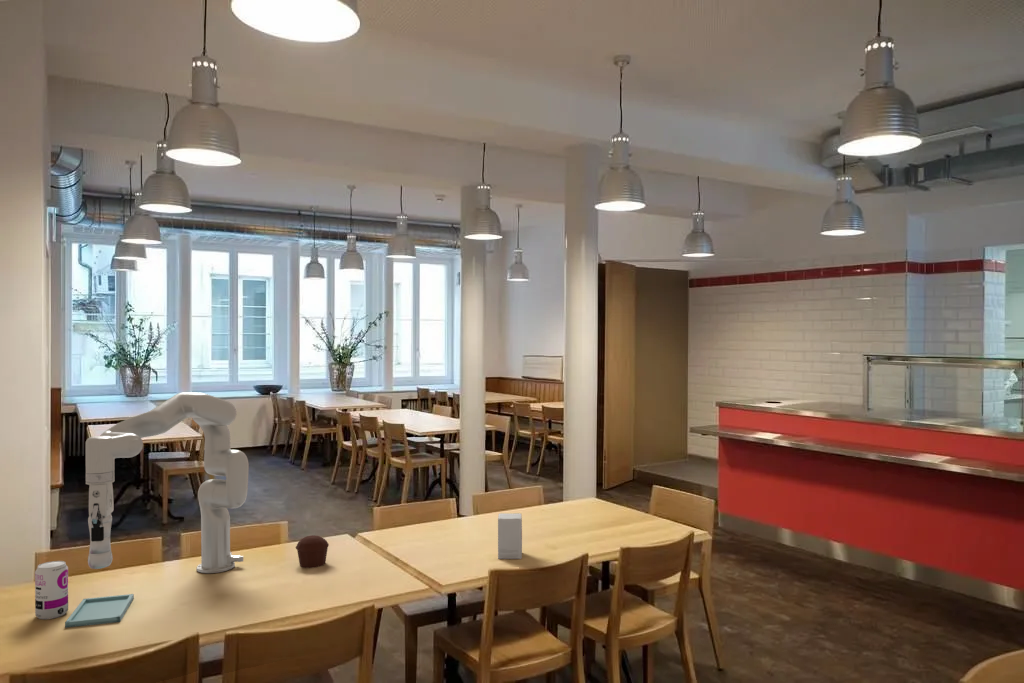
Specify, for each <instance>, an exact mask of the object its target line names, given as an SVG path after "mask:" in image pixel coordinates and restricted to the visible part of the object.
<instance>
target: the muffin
mask: <svg viewBox="0 0 1024 683" xmlns="http://www.w3.org/2000/svg"><path fill="white" fill-rule="evenodd" d="M329 546H330V544H329V543H328V541H327V540H326V539H325V538H324V537H322V536H320V535H307V536H304V537H303V538H301V539H300V540H299V541H298V542H297V544H296V546H295V549H296V550H297V555H298V556H297V558H298V562H299V563H298V564H299V566H300V567H301V568H306V569H312V568H313V569H314V568H315V569H316V568H319V567H323V566H324V565H325V564H326V562H327V554H328V548H329Z"/></svg>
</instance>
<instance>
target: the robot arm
mask: <svg viewBox="0 0 1024 683" xmlns="http://www.w3.org/2000/svg"><path fill="white" fill-rule="evenodd" d="M236 417H237V408H236V407H235V405H234V404H233V403H232V402H230V401H228V400H226V399H222V398H219V397H217V396H214V395H210V394H208V393H205V392H204V393H203V392H187V391H186V392H179V393H177V394H175V395H173V396H171V397H170V398H168V399H167V400H165V401H163V402H162V403H160V404H159V405H158V406H156V407H154V408H152V409H151V410H148V411H146V412H143V413H140V414H138V415H135V416H133V417H130V418H127V419H124V420H121V421H120V422H118V423H116V424H114V425H113V426H111V427H109V428H108V429H106V430H105V431H104V432H102V433H101V434H100V435H95V436H90V437H87V439H86V441H85V485H88V486H89V488H88V518H89V517H90V518H92V524H91V541H103V540H104V527H102V526H103V516H105V517H108V516H109V515H110V514H111V515H112V513H113V512H114V508H115V507H114V505H115V504H114V488H113V486H114V485H113V483H114V482H115V480H116V479H115V459H120V458H122V459H125V458H127V459H129V458H133V457H136V456H137V455H139V454H140V453H141V451H142V450H143V448H144V443H143V442H144V441H143V439H142V438H149V437H155V436H158V435H161V434H164V433H167V432H168V431H170V430H172V429H173V428H174V427H175V426H177V425H179V424H180V423H182V422H183V421H184V420H186V419H189V418H190V419H191V418H192V420H193V421H194V423H195V424H197V425H198V426H199V427H200V428H201V430H202V432H203V435H204V456H203V457H204V458H203V467H204V468H203V469H204V472H205V473H207V474H208V475H211V476H216V477H217V476H218V477H225V479H219V478H218V479H217V478H211V479H207V480H205V481H204V482H202V483H201V484H200V486H199V488H198V491H197V500H198V504H199V510H200V527H201V528H200V529H201V530H200V531H201V532H200V533H201V534H200V535H201V536H200V538H201V542H200V544H201V545H200V546H201V548H200V549H201V552H200V553H201V559H200V560H201V563H199V564H198V565H197V566H196V571H197V572H198V573H202V574H218V573H223V572H227V571H230V570H232V569H234V568H235V566H236V563H241V562H244V555H240V554H238V555H234V554H232V553H233V552H232V551H231V517H230V512H229V510H228V509H238V508H240V507H242V506H243V505H244V504H245V502H246V500H247V497H248V491H249V490H248V487H249V466H250V465H249V459H248V457H247V455H246V453H245V452H244V451H241V450H239V449H231V432H230V429H229V425H231V424H233V422H234V421H235V420H236ZM92 512H93V513H92ZM91 514H92V515H91ZM98 515H101V516H98ZM98 519H100V521H99V520H98Z"/></svg>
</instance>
